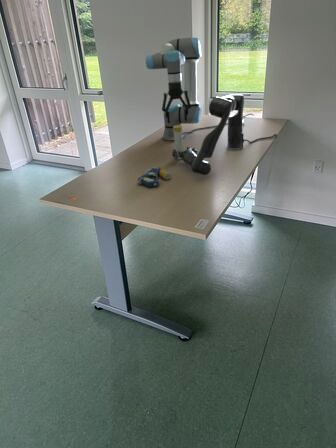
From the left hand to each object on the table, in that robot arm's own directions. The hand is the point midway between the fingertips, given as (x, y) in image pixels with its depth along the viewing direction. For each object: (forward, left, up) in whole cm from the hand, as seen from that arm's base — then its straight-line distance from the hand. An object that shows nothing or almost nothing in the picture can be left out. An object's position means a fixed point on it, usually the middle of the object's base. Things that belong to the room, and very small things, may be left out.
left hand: (177, 121), depth 200 cm
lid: (0, 0, -3) cm, 3 cm away
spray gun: (+28, +21, -23) cm, 42 cm away
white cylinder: (0, 0, -23) cm, 23 cm away
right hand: (+1, +3, -16) cm, 17 cm away
